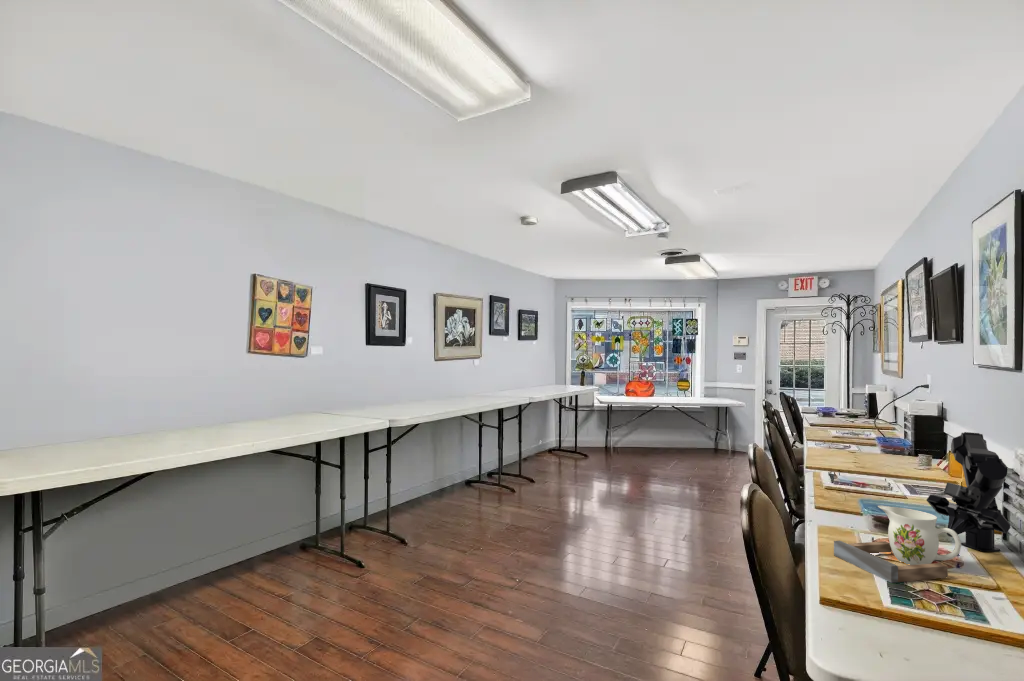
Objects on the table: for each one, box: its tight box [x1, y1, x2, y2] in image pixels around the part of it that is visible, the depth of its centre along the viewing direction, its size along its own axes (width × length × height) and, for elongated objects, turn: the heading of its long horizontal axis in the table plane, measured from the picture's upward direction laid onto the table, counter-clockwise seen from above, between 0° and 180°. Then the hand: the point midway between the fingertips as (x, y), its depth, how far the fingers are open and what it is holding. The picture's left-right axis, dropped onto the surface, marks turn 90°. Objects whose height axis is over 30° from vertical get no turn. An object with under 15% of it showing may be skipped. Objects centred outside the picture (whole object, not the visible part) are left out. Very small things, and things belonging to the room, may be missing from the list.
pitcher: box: [877, 504, 962, 565], centre depth 144 cm, size 11×18×14 cm, turn 45°
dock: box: [833, 540, 949, 583], centre depth 142 cm, size 17×18×4 cm
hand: (948, 535), depth 146 cm, fingers closed
